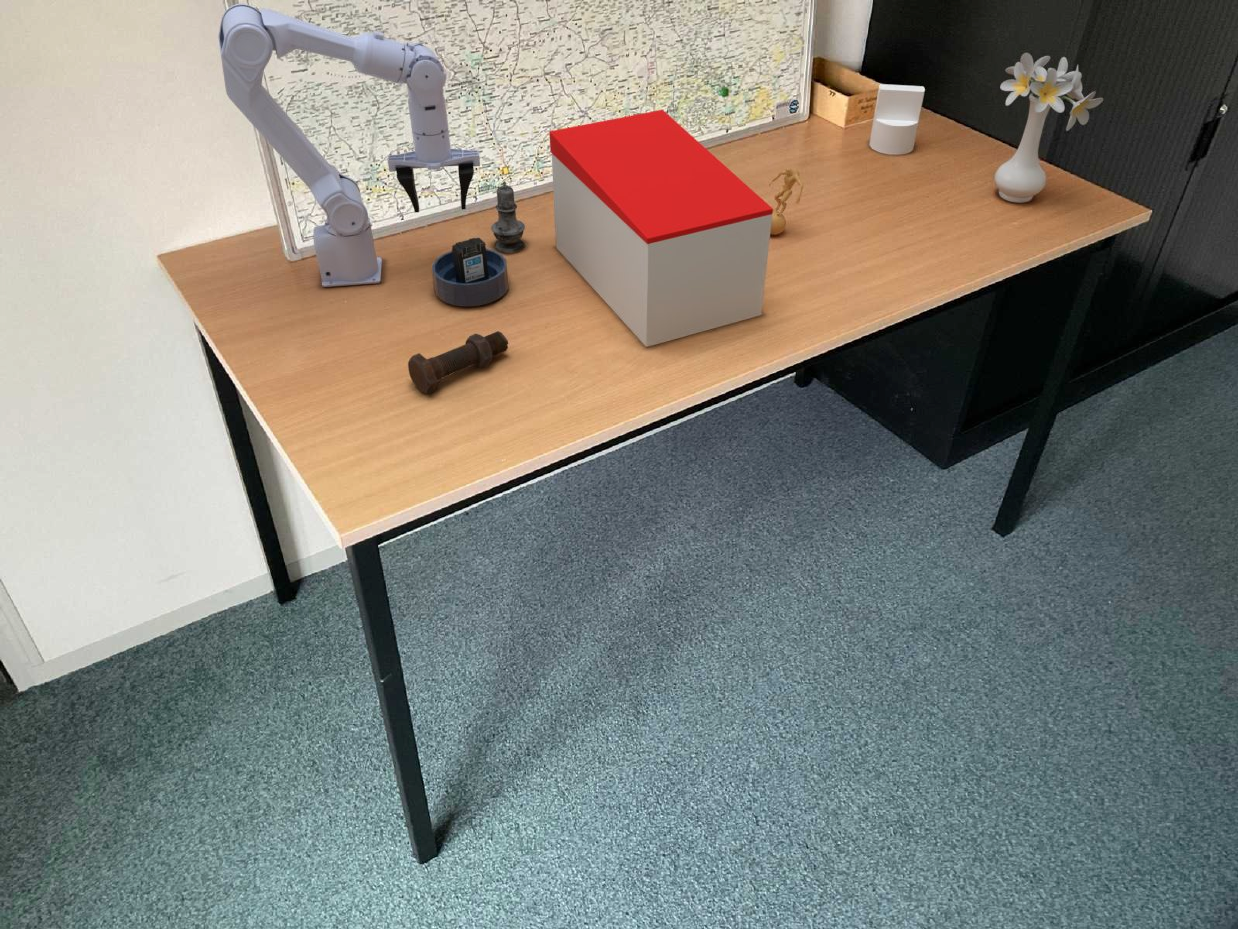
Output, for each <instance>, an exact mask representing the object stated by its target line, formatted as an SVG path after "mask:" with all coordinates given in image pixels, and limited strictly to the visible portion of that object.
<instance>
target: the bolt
mask: <svg viewBox="0 0 1238 929" xmlns="http://www.w3.org/2000/svg"><path fill="white" fill-rule="evenodd" d="M508 349H509V340H508V338H507V337H506V336H505V335H504V334H503V332H502V331H499V330H497V331H494V332H492V333H490V334H488V335H485V336H483V335H481V334H479V333H474V334H471V335H470V336H469V337H467V338H466V340H465V344H463V345H461V346H458V347H455V348H453V349H450V350H448V351H446V352H443V353H441V354H438V355H435V356H432V357H429V358H426V357H425V356H423V355H422V354H421V353H416V354H414V355H411V357H410V358H409V360H408V362H407V368H408V374H409V377H410V379H411V381H412V383H413V385H414V386H415V387H416V389H417V390H418V391H419V392H421V393H423V394H426V395H429V394H431V393H433V392H435V389H436V386H437V384H438V381H440V380H442V379H444V378H445V377H447V376H450V375H452V374H454V373H457V372H459V371H463V370H465V369H466V368H469V367H471V366H475V367H477V368H480V369H482V368H485V367H487V366H488V365H490V363H491V361H492V360H493V357H495V356H498V355H500V354H502V353H504V352H507V350H508Z"/></svg>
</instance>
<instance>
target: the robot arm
mask: <svg viewBox="0 0 1238 929" xmlns="http://www.w3.org/2000/svg"><path fill="white" fill-rule="evenodd" d="M218 30H219V31H218V35H217V37H218V45H219V52H220V58H221V59H220V60H221V65H222V67H221V68H222V74H223V81H224V87H225V93H226V95H227V97H228V99H229V100H230V101H231V102H232V103H233V104H234V105H235V106H236V108H237V110H239V111H240V112H241V114H243V116H244V117H245V118H246V119H247V120H248V121H249V123H251V124H252V126H253V127H254V128H255V129H256V130H257V132H258V133H259V134H260V135H261V136H262V137H263V138H264V139H265V141H266V142H267V143H268V144H269V145H270V146H271V147H272V148H273V149H274V150H275V152H276V153H277V154H278V155H279V157H281V158H282V160H283V161H284V162H285V163H286V164H287V165H288V166H289V167H290V168H291V170H292V171H293V172H294V173H295V174H296V176H298V178H299V179H300V180H301V181H302V182H303V183H304V184H305V186H307V188H308V189H309V191H310V192H311V194H312V195H313V197H314V199H315V201H316V202H317V204H318V205H319V207H320V208H321V209H322V210H323V212H324V213H325V215H326V219H325V221H324V224H322V225H317V226H316V225H315V226H314V227H313V246H314V251H315V255H316V261H317V265H318V269H319V275H320V278H321V286H322V287H323V288H332V287H343V286H357V285H368V284H369V285H370V284H379V283H381V280H382V267H383V258H382V257H377V252H376V246H375V240H374V236H373V235H374V234H373V229H372V224H371V218H370V217H369V212H368V210H367V207H366V206H365V203H364V201H363V198H362V196H361V189H360V187H359V185H358V183H357V182H356V181H355V180H354V179H353V178H351V177H349V176H346V175H345V174H343V173H341V172H340V171H339V169H337V168H336V166H334V165H332V164H331V163H329V162H328V161H327V160H326V159H325V157H324V156H323V155H322V153H321V152H319V150H318V149H317V148H316V147H315V145H313V143H312V142H311V141H310V140H309V138H308V137H307V136H306V135H305V133H304V132H303V131H302V129H300V128H299V127H298V125H297V124H296V123H295V121H293V119H291V117H290V115H288V113H286V111H285V110H284V109H283V108H282V107H281V105H280V104H279V103H278V102H277V101H276V100H275V98H274V97H273V96H272V95H271V93H270V92H269V91H268V90H267V89H266V87H264V86H263V77H264V71H265V69H266V67H267V66H268V64H269V62H270V60H271V58H272V55H273V51H275V54H276V58H277V59H281V58H283V57H284V56H287V55H288V54H290V53H291V52H294V51H296V50H298V51H304V52H306V53H312V54H315V55H316V54H317V55H321V56H324V57H330V58H333V59H338V60H342V61H346V62H349V63H351V64H352V66H353V67H354V69H355V70H356V72H357V73H358V74H362V75H365V76H369V77H373V78H376V79H380V80H383V81H388V82H391V83H395V84H398V85H402V84H403V85H405V84H406V89H407V96H408V99H407V105H408V112H409V119H410V125H411V134H412V139H413V147H414V150H413V151H408V152H403V153H399V154H391V155H390V154H389V155H387V166H388V171H389V172H390V173H392V172H394V173H395V172H396V179H397V181H398V183H399V184H400V185H401V187H402V188H403V189H404V192H406V194H407V196H408V198H409V200H410V202H411V205H412V208H413V210H414V213H420V202H419V197H418V193H417V188H416V182H415V181H416V180H415V174H414V169H427V170H429V171H435V170H440V169H441V168H445V167H446V168H447V167H457V171H458V172H457V173H458V181H459V190H460V207H461V210H466V209H467V197H468V191H469V188H470V185H471V183H472V180H473V177H474V175H475V168H474V167H481V160H480V159H481V158H480V150H479V149H459V148H451V147H452V146H451V138H450V131H449V129H450V128H449V120H448V113H447V112H448V111H447V102H446V98H445V95H444V91H445V90H444V87H445V84H446V81H447V74H446V73H445V69H444V66H443V64H442V63H441V61H440V60H439V58H438V56H437V55H436V53H435V52H434V50H431V48H429V47H428V46H426V45H424V44H422V43H421V42H415V43H414V42H411V41H407V42H406V43H403V42H400V41H396V40H392V39H389V38H387V37H385V36H384V34H383V32H381V31H378V30H373V32H372V33H369V32H366V31H365V32H362V33H360V34H359V35H357V36H355V37H352V36H349V35H346V34H343V33H340V32H337V31H333V30H332V29H329V28H328V29H327V28H325V27H322V26H320V25H317V24H313V23H311V22H308V21H304V20H302V19H299V18H296V17H293V16H290V15H287V14H284V13H282V12H278V11H276V10H273V9H270V8H266V7H259V9H258V8H256V7H255V6H253V5H250V4H249V3H248V4H246V3H236V4H233V5H231V6H229V7H228V8H227V9H226V10H225V11H224V13H223V14H222V17H221V20H220V25H219V29H218Z"/></svg>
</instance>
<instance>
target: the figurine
mask: <svg viewBox="0 0 1238 929" xmlns="http://www.w3.org/2000/svg"><path fill="white" fill-rule="evenodd" d="M782 175H783V176H784V177H783V180H784V181H783V182H784V184H781V186H780V188H779V190H778V191H777V193H775V195H774V200H775V201H776V203H777V206H776V207H775V208H774V209H773V213H772V221H771V231H770V235H771V236H772V235H774V236H775V235H779V234H781V233H783V231H785V228H786V225H787V220H786V217H785V216H784V215H783V214H784V212H785V210H786V208H787V205H788V204H787V201H788V200H789V198H790V197H791V196H792V195H793V190H792V188H793V186H794V185H795V183H797V184H798V186H799V190H798V194H797V198H796V199H795V204H796V205H799V204H800V202H801V196H802V192H803V189H804V184H803V182H802V180H801V178H800V171H799V169H797V168H791V167H787V168H786V169H785V170H782V171H780V172H779V173H778V174H777V175H776V176H774V177H773V178H772V180H771V181H770V183H769V184H768V187H771V185H772V184H773V183H774V182H775V181H777V180H778V179H779V178H780V177H781V176H782ZM780 197H781V199H780ZM781 206H782V208H781V210H780V211H778V210H779V209H780V207H781Z"/></svg>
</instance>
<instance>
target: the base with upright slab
mask: <svg viewBox="0 0 1238 929" xmlns="http://www.w3.org/2000/svg"><path fill="white" fill-rule="evenodd" d="M925 91H926V89H925V87H924V86H922V85H921V86H920V85H907V84H906V85H905V84H904V85H903V84H886V83H880V84H879V85H878V91H877V96H876V103H875V108H874V113H873V120H872V126H871V131H870V138H869V143H868V144H869V147H870V148H871V149H872V150H874V151H875V152H878V153H880V154H884V155H890V156H898V155H899V156H900V155H901V156H902V155H906V154H909V153H911V152H913V151H914V148H915V147H914V146H915V142H916V136H917V132H918V126H919V123H920V117H921V111H922V106H923V101H924V96H925Z"/></svg>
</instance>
